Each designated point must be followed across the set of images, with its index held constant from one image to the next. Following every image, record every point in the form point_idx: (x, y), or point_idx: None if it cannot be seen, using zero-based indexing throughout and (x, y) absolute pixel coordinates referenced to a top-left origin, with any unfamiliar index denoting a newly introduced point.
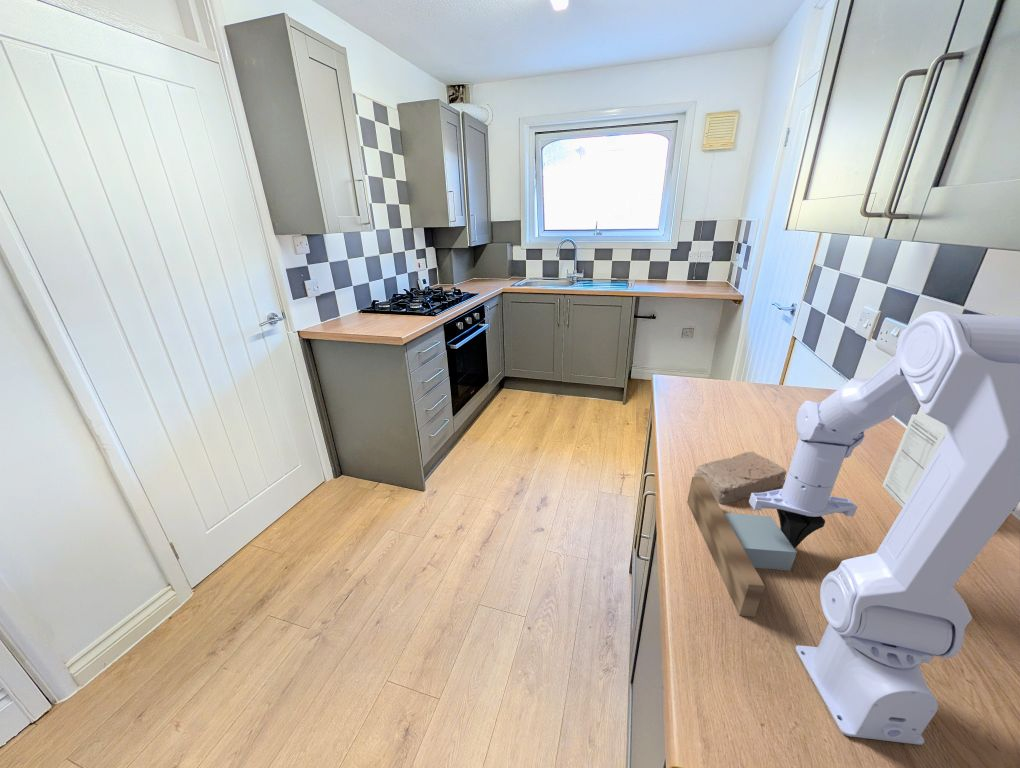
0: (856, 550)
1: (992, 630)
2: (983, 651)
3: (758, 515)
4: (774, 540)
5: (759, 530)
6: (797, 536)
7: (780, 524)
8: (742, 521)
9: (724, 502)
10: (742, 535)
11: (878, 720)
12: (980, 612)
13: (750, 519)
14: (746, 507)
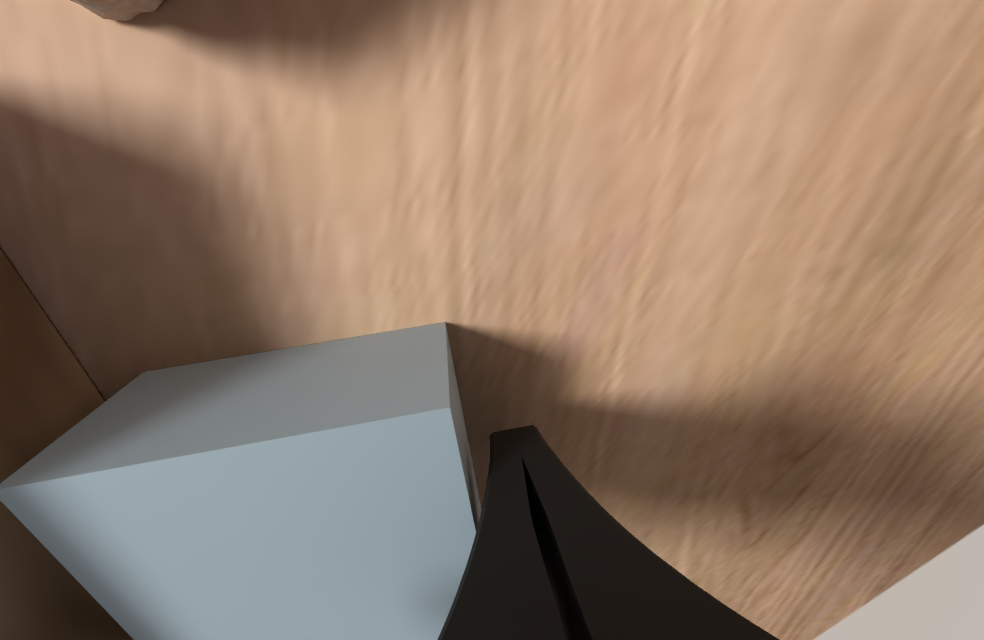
0: (854, 327)
1: (938, 536)
2: (846, 592)
3: (339, 429)
4: (400, 612)
5: (320, 568)
6: (549, 582)
7: (480, 518)
8: (193, 532)
9: (138, 6)
10: (197, 638)
11: None
12: (980, 492)
13: (261, 495)
14: (369, 27)
